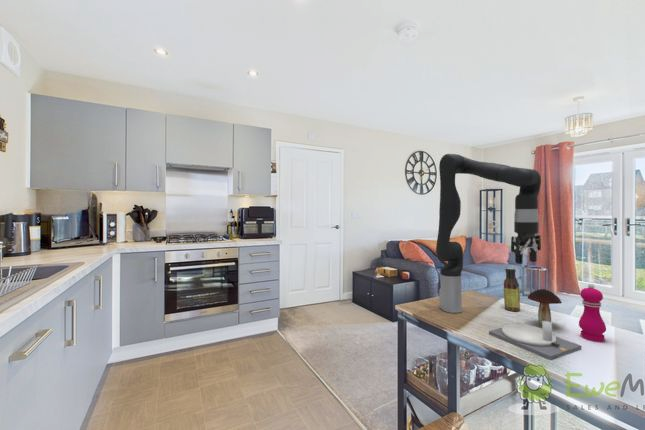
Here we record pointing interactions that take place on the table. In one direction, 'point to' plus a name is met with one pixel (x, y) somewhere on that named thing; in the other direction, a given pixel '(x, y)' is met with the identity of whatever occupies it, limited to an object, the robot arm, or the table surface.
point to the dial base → (543, 351)
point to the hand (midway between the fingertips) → (526, 262)
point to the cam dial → (531, 334)
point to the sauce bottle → (511, 291)
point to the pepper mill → (592, 315)
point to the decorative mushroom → (544, 303)
